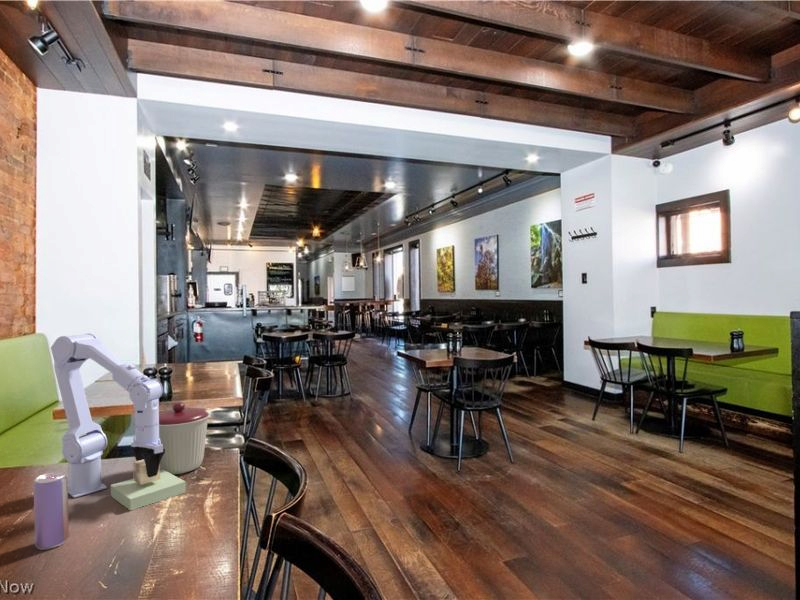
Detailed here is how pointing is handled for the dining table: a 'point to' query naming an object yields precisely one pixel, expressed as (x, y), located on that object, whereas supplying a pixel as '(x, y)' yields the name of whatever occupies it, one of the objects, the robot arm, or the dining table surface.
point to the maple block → (143, 473)
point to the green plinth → (147, 490)
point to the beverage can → (51, 510)
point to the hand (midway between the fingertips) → (148, 473)
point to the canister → (182, 438)
